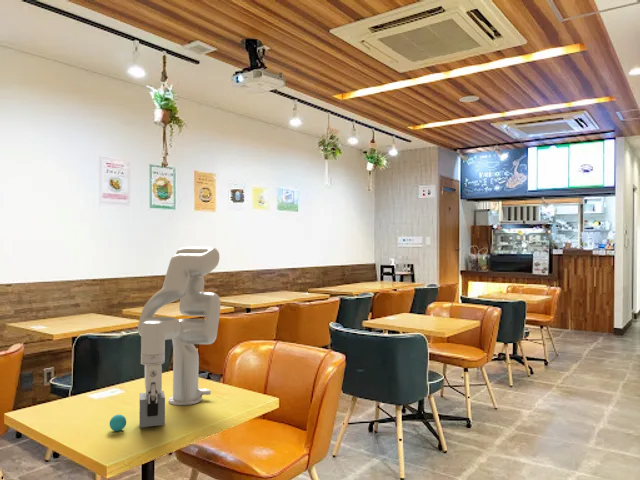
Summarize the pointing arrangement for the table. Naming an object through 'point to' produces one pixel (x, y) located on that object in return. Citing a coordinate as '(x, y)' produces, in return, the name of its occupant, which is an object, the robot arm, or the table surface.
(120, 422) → the ball
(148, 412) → the robot arm
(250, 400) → the table surface
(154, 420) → the grey tapered block
